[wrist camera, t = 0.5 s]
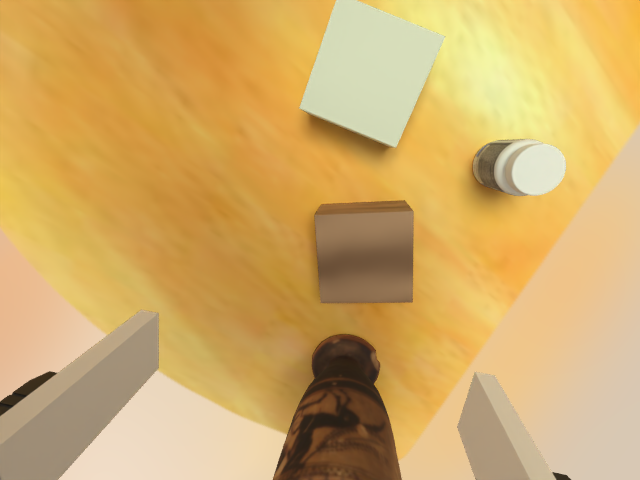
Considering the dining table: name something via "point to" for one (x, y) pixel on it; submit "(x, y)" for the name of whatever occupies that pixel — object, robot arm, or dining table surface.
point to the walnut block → (365, 252)
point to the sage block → (370, 71)
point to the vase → (340, 419)
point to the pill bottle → (519, 166)
